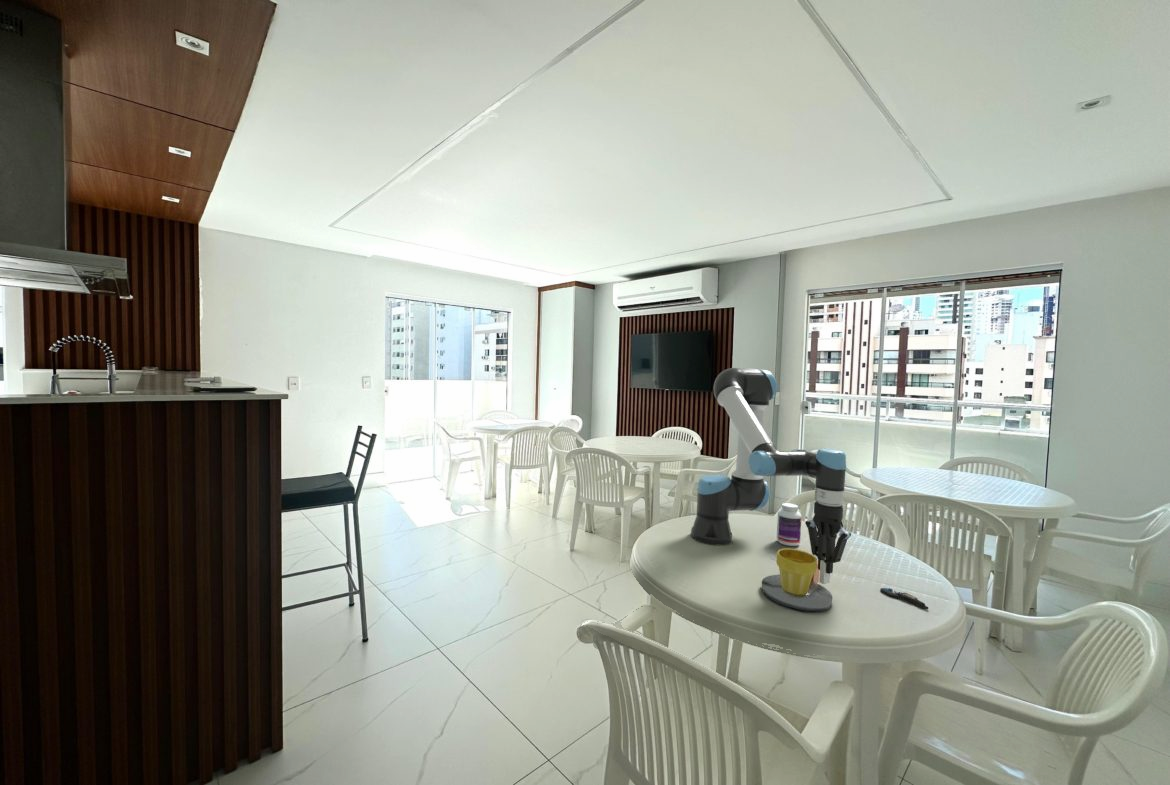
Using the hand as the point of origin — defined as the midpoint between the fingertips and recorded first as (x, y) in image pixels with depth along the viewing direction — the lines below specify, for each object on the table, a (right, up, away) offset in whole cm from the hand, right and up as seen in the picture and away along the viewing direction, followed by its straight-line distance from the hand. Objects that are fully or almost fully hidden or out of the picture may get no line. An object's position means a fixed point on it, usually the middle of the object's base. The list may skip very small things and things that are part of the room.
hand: (824, 582), depth 131 cm
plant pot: (-11, 0, -6) cm, 13 cm away
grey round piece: (-9, -1, -3) cm, 10 cm away
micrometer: (+20, -4, -5) cm, 21 cm away
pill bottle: (+6, -1, +36) cm, 37 cm away
